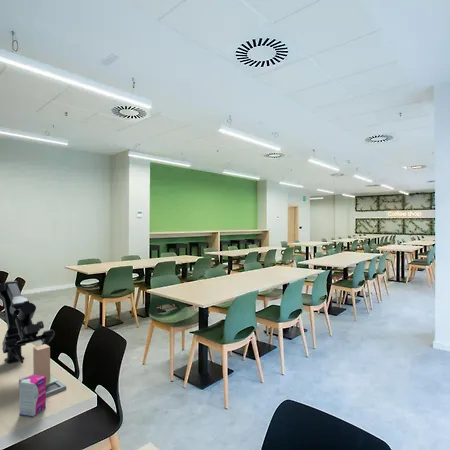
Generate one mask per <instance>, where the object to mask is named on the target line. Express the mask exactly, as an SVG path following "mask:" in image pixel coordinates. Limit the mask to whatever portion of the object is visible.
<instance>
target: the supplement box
mask: <svg viewBox="0 0 450 450" xmlns="http://www.w3.org/2000/svg"><path fill="white" fill-rule="evenodd" d="M31 375H32V376H30V375H29V376H30V377H28V378H26V379H25V380H23V381H21V382H19V405H18V407H19V411H18V412H19V414H18V415H19V416H20V417H27V418H34V417H35V416H37V415H38V414H39V413H42V411H43V410H45V409H46V402H47V401H46V400H47V397H46V376H38V375H33V374H31Z"/></svg>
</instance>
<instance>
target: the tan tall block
mask: <svg viewBox="0 0 450 450" xmlns="http://www.w3.org/2000/svg"><path fill="white" fill-rule="evenodd" d="M32 351H33V359H32V360H33V374H34V375H38V376H46V383H47V382H50V374H51V346H49V345H46V344H44V345H42V344H40V345H36V346H34V347H33V349H32Z"/></svg>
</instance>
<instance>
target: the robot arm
mask: <svg viewBox="0 0 450 450" xmlns="http://www.w3.org/2000/svg"><path fill="white" fill-rule="evenodd" d="M0 301H2V302H3V306H4V312H5V319H6V326H7V330H6V332H5V334H4V338H3V340H2V354H6V355H7V356H6V357H5V358H4V361H5V362H6V363H7V364H12V363H15V362H20V363H21V364H23V363H24V360H25V356H24V355H22V347H23V346H26V345H27V344H31V343H34V342H38V341H41V342H42V343H41V345H44V344H46V345H48V346H49V345H50V342H51V341H53V338H54V337H55V336H56V333H55V330H53V329H49V330H44V331H43V332H42V334H41V335H38V334H39V332H40V331H41V330H43V329H44V328H45V326H44V325H45V323H44V322H43V320H39V321H36V323H33V320H32V319H33V317H34V315H35V313H36V310H37V306H36V305H35V303H32V302H30V301H29V299H28V298H27V297H23V295H22V292H21V290H20V288H19V283H18V281H17V280H11V281H9V280H8V281H6V282H4V283H3V282H2V283H0Z"/></svg>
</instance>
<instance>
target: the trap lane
mask: <svg viewBox="0 0 450 450" xmlns="http://www.w3.org/2000/svg"><path fill="white" fill-rule="evenodd" d="M32 375H34V373H33V374H30V375H27V376H25V377H21V378H19V379H18V382H19V383H20V382H21V381H23V380H25V379H26V378H28V377H30V376H32ZM64 390H67V385H66V384H64V383H63V382H62V381H60V380H59V379H58V378H56V377H55V376H54V375H52V374H51V373H50V382H47V383H46V398H47V397H50V396H51V395H54V394H57V393H60V392H62V391H64Z"/></svg>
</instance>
